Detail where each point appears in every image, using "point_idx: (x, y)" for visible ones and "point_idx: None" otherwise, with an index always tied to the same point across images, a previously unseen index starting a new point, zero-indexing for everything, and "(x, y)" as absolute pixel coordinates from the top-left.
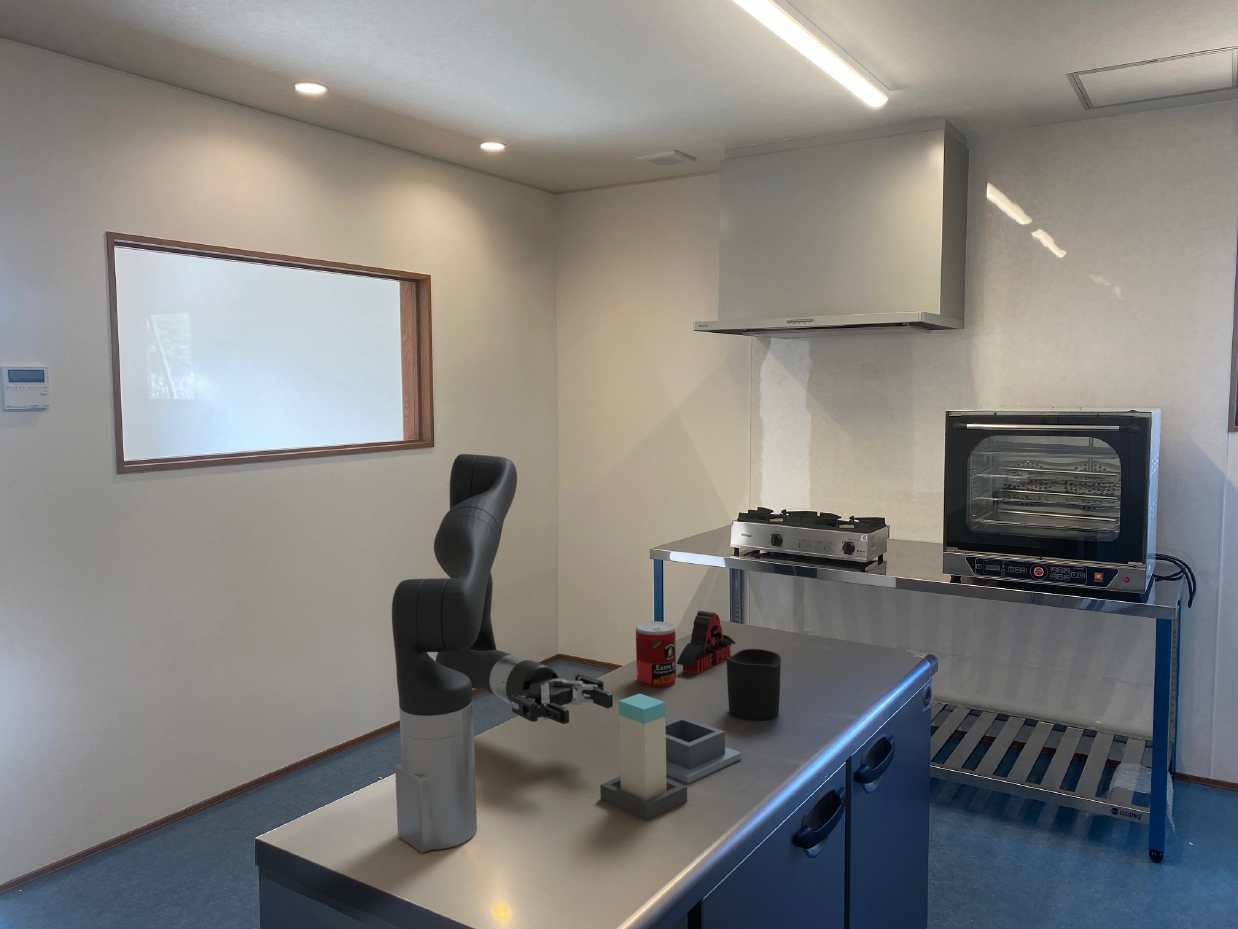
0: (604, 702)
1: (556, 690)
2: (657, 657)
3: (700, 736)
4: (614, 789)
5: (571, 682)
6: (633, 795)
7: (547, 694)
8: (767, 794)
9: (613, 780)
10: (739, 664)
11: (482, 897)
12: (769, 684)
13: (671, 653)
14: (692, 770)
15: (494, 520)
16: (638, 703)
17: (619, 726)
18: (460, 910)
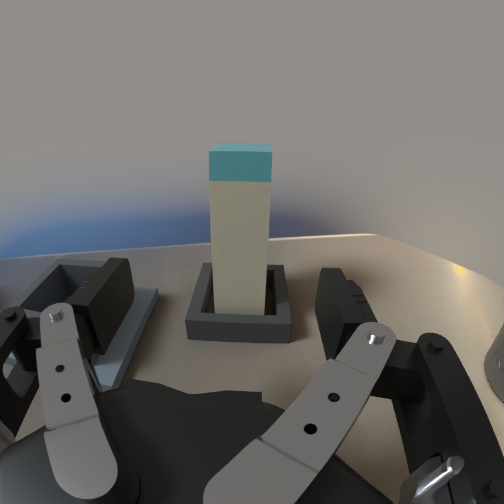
0: (123, 297)
1: (199, 430)
2: None
3: (47, 297)
4: (284, 303)
5: (72, 379)
6: (275, 282)
7: (340, 363)
8: (142, 249)
9: (262, 320)
10: None
11: (473, 283)
12: None
13: None
14: (134, 292)
15: None
16: (255, 146)
17: (269, 206)
18: (486, 281)
